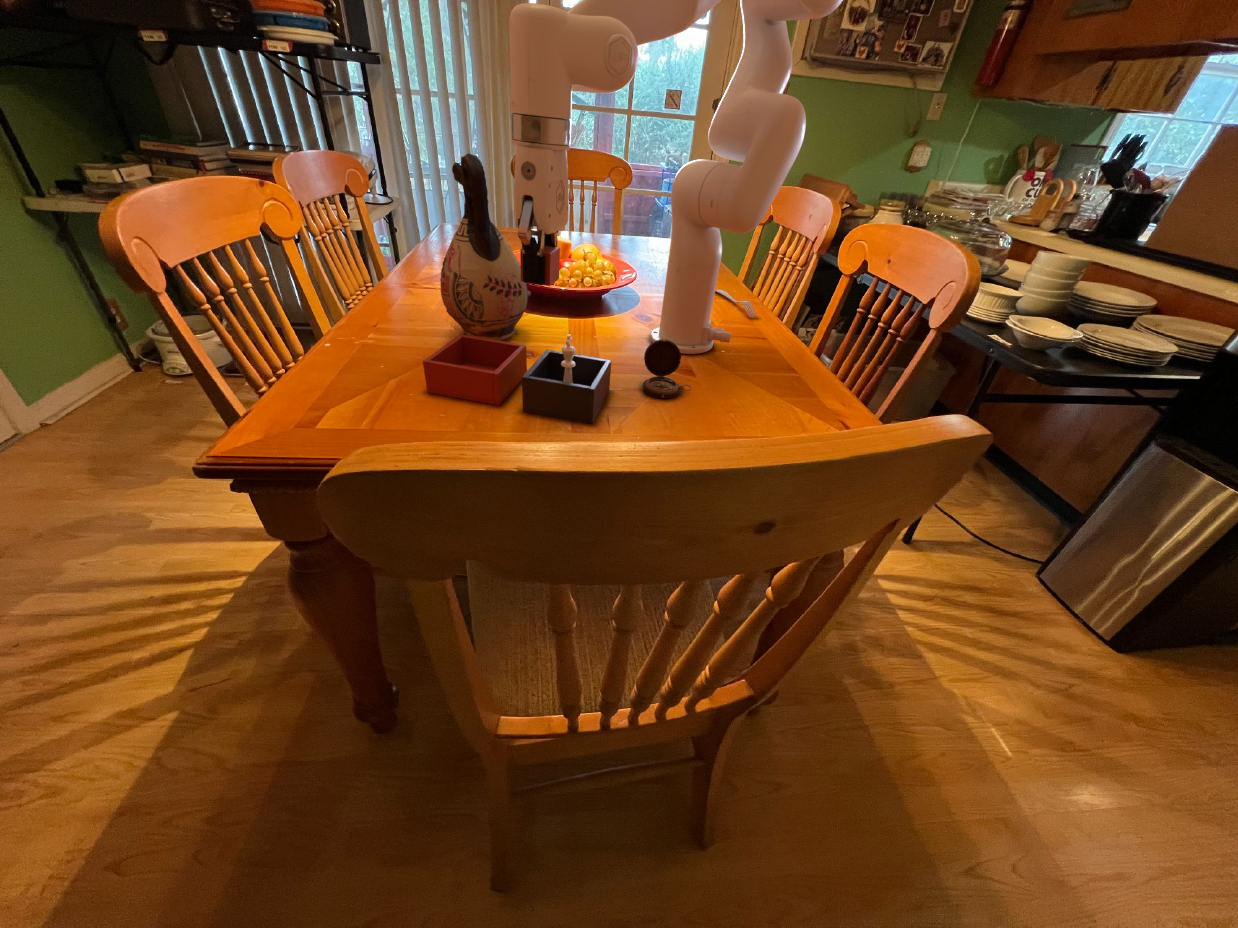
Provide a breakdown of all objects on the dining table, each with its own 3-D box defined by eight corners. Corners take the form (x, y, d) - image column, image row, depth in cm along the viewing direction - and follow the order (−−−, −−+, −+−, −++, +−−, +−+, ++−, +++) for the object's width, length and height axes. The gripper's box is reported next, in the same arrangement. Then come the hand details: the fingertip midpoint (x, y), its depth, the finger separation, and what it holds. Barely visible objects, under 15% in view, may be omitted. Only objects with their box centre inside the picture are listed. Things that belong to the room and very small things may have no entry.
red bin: (527, 374, 84) (526, 345, 81) (499, 405, 75) (497, 374, 72) (462, 362, 86) (459, 334, 83) (427, 392, 76) (422, 361, 73)
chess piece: (547, 403, 75) (547, 339, 70) (556, 388, 79) (556, 327, 74) (579, 407, 75) (582, 344, 69) (586, 393, 79) (589, 331, 73)
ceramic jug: (440, 322, 100) (417, 144, 83) (517, 317, 106) (511, 150, 88) (453, 356, 88) (430, 155, 70) (540, 348, 93) (537, 161, 76)
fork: (720, 300, 135) (721, 289, 134) (759, 318, 118) (761, 306, 117) (710, 300, 135) (712, 289, 133) (748, 318, 117) (750, 306, 116)
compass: (643, 398, 80) (648, 355, 76) (641, 377, 87) (646, 336, 83) (693, 402, 81) (700, 359, 77) (687, 380, 87) (694, 340, 83)
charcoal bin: (609, 392, 81) (611, 360, 78) (592, 424, 73) (594, 389, 69) (546, 381, 83) (546, 349, 79) (522, 411, 74) (521, 377, 71)
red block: (559, 279, 77) (560, 247, 74) (549, 286, 73) (550, 253, 71) (531, 274, 77) (531, 243, 75) (520, 281, 74) (520, 249, 71)
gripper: (548, 138, 58) (545, 298, 68) (586, 137, 71) (579, 270, 82) (486, 130, 58) (493, 290, 69) (535, 131, 72) (535, 263, 83)
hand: (540, 278), depth 75 cm, fingers closed on red block, 4 cm apart
